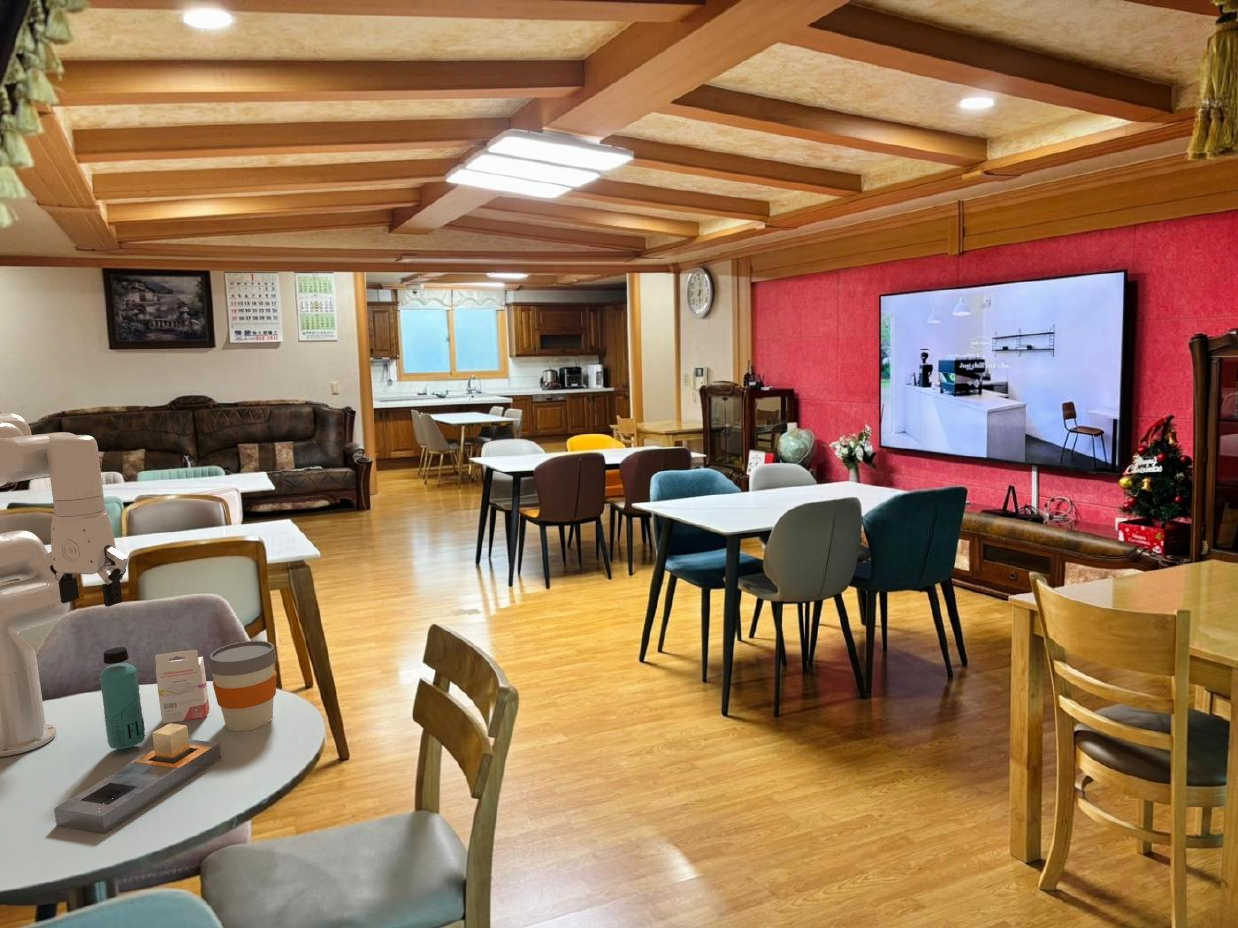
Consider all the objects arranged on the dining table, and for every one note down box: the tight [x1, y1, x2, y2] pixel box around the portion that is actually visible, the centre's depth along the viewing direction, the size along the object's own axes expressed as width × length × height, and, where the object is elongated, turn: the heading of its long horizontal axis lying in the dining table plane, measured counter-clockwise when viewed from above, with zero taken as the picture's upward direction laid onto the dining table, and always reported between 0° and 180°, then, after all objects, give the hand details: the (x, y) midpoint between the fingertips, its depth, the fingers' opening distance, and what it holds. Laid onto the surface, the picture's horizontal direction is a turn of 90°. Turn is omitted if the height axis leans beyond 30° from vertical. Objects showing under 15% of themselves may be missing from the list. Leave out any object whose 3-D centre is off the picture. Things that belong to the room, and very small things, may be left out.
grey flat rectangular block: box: [53, 738, 222, 835], centre depth 156 cm, size 10×26×3 cm, turn 163°
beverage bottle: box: [99, 646, 146, 750], centre depth 171 cm, size 6×7×20 cm
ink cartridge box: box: [154, 649, 211, 724], centre depth 185 cm, size 9×5×15 cm, turn 106°
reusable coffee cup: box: [209, 640, 278, 732], centre depth 182 cm, size 13×13×15 cm
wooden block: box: [152, 722, 190, 764], centre depth 162 cm, size 4×4×8 cm
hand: (91, 602), depth 157 cm, fingers open, 9 cm apart
